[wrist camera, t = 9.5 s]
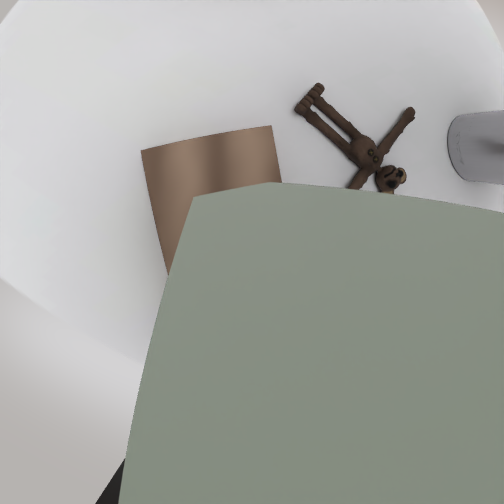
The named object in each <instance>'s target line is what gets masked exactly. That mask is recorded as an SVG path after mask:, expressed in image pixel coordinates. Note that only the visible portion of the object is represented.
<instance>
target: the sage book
mask: <svg viewBox="0 0 504 504" xmlns="http://www.w3.org/2000/svg"><path fill="white" fill-rule="evenodd" d="M118 504H504V213H501V212H496V211H491V210H486V209H481V208H476V207H470V206H465V205H459V204H453V203H448V202H442V201H435V200H429V199H423V198H416V197H409V196H402V195H395V194H387V193H379V192H371V191H363V190H354V189H345V188H335V187H325V186H314V185H302V184H290V183H276V182H267V183H262V184H256V185H251V186H245V187H240V188H235V189H230V190H225V191H220V192H215V193H210V194H205V195H200V196H196V197H193V200H192V203H191V206H190V209H189V212H188V215H187V218H186V221H185V224H184V227H183V230H182V233H181V237H180V240H179V243H178V246H177V249H176V253H175V256H174V259H173V262H172V266H171V269H170V272H169V276H168V279H167V283H166V286H165V289H164V293H163V297H162V300H161V304H160V307H159V311H158V315H157V318H156V322H155V326H154V330H153V334H152V337H151V341H150V345H149V349H148V353H147V357H146V362H145V366H144V370H143V374H142V379H141V383H140V388H139V392H138V397H137V401H136V406H135V411H134V415H133V420H132V425H131V430H130V436H129V441H128V446H127V452H126V458H125V463H124V469H123V476H122V482H121V489H120V496H119V503H118Z"/></svg>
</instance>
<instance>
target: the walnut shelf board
mask: <svg viewBox="0 0 504 504" xmlns="http://www.w3.org/2000/svg"><path fill="white" fill-rule="evenodd" d="M141 155H142V161H143V166H144V171H145V176H146V181H147V186H148V191H149V196H150V201H151V206H152V210H153V215H154V219H155V224H156V228H157V232H158V236H159V241H160V245H161V249H162V253H163V257H164V261H165V265H166V269H167V272H168V276H169V272H170V269H171V266H172V262H173V259H174V256H175V253H176V249H177V246H178V243H179V240H180V237H181V233H182V230H183V227H184V224H185V221H186V218H187V215H188V212H189V209H190V206H191V203H192V200H193V197H196V196H200V195H205V194H210V193H215V192H220V191H225V190H230V189H235V188H240V187H245V186H251V185H256V184H262V183H267V182H276V183H282V181H281V176H280V170H279V164H278V159H277V153H276V148H275V142H274V137H273V131H272V126H271V125H270V126H263V127H256V128H249V129H243V130H237V131H231V132H225V133H219V134H214V135H209V136H203V137H198V138H193V139H189V140H184V141H179V142H175V143H170V144H166V145H162V146H157V147H153V148H149V149H145V150H141Z"/></svg>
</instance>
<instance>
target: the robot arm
mask: <svg viewBox="0 0 504 504" xmlns="http://www.w3.org/2000/svg"><path fill="white" fill-rule="evenodd" d="M448 149H449V154H450V158H451V161H452V164H453V166H454V168H455V170H456V171H457V172H458V174H459V175H460V176H461V177H462V178H464V179H465V180H467V181H473V182H483V183H491V184H500V185H504V110H501V111H491V112H482V113H474V114H466V115H461V116H458V117H457V118H455V119H454V121H453V122H452V124H451V126H450V129H449V134H448ZM124 463H125V459H124V461H123V462H122V464H121V465H120V467H119V468H118V470H117V471H116V473H115V474H114V476H113V478H112V479H111V481H110V482H109V484H108V485H107V487H106V488H105V490H104V491H103V493H102V494H101V496H100V497H99V499H98V500H97V502H96V504H118V503H119V496H120V489H121V482H122V476H123V469H124Z"/></svg>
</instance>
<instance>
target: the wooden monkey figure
mask: <svg viewBox="0 0 504 504" xmlns="http://www.w3.org/2000/svg"><path fill="white" fill-rule="evenodd" d="M324 89H325V88H324V86H323V85H322V84H320V83H317V84H315V85H314V87H313V88H312V89H311V90H310V91H309V92H308V94H307V95H306V96H304V98H303V99H302V100H301V101H300V102H299V103H298V104H297V105H296V107H295V111H296V112H297V113H299V114H300V115H302V116H303V117H305V118H306V120H307V121H308V122H309V123H311V124H313V125H314V126H316V127H317V128H318V129H319V130H320V131H321V132H323V133H324V134H325V135H326V136H327V137H328V138H329V139H331V140H332V141H333V142H334V143H335V144H336V145H337V146H338V147H339V148H341V149H342V150H343V151H344V152H345V153H346V154H347V156H348V157H349V159H350V160H352V161H353V162H355V163H356V164H357V165H358V166H359V167H360V168H361V170H360V171H359V172H358V174H357V175H356V176H355V177H354V179H353V181H352V182H351V184H350V186H349V187H348V189H354V190H359V189H360V188H362V186H363V184H364V183H365V182H367V179H368V177H369V176H370V175H371V174H373V173H374V172H375V171H377V172H378V173H377V176H376V182H377V184H378V186H379V187H380V189H381V190H382V191H381V193H387V194H394V189H396V188H397V187H398V186H399V184H403V183H404V182H405V181H406V172H405V170H404V169H402V168H397V169H396V167H395V166H393V165H388V166H385V167H382V168H381V167H380V165H381V163H382V161H383V158H384V155H385V154H387V153H388V152H389V149H390V148H391V146H392V145H393V143H394V142H395V140H396V139H397V138H398V136H399V135H400V134H401V133H402V132H403V130H404V128H405V127H406V126H407V125H408V124H409V123H410V122H411V121H413V120H414V119H415V117H414V115H415V110H414V109H413V108H412V107H408V108H407V109H406V110H405V112H404V114H403V116H402V117H401V119H400V121H399V122H398V123H397V125H396V126H395V127H394V128H393V129H392V131H391V132H390V133H389V134H388V135H387V137H386V138H385V139H384V140H383V141H382V142H381V144H380V145H379V146H378V147H377V148H376V145H375V143H374V141H373V140H371V138H369V137H367V136H365V135H362V134H361V133H360V132H359V131H358V130H357V129H356V128H355V127H354V126H353V125H352V124H351V122H348V121H347V120H346V119H345V118H344V117H343V116H341V115H340V114H339V113H338V112H337V111H336V110H335V109H334V108H333V107H332V106H331V105H329V104H328V103H327V102H326V101H325V100H324V99H323V97H321V96H320V95H321V94H322V92H323V91H324ZM312 104H314V105H315V106H317V107H318V108H319V109H320V110H321V111H322V112H324V113H325V114H326V115H327V116H328V117H330V118H331V119H332V120H333V121H334V122H335V123H336V124H338V125H339V126H340V127H341V128H342V129H343V130H344V131H345V132H347V133H348V134H349V135H350V136H351V137H352V138H353V140H352V142H351V143H350V144H349V143H348V142H347V141H346V140H345V139H343V138H342V137H341V136H340V135H339V134H338V133H337V132H336V131H335V130H333V129H332V128H331V127H330V126H329V125H328V124H327V123H325V122H324V121H323V120H322V119H321V118H320V117H319V116H318V114H317V113H316V112H313V111H312V110H311V109H310V107H311V105H312Z"/></svg>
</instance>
